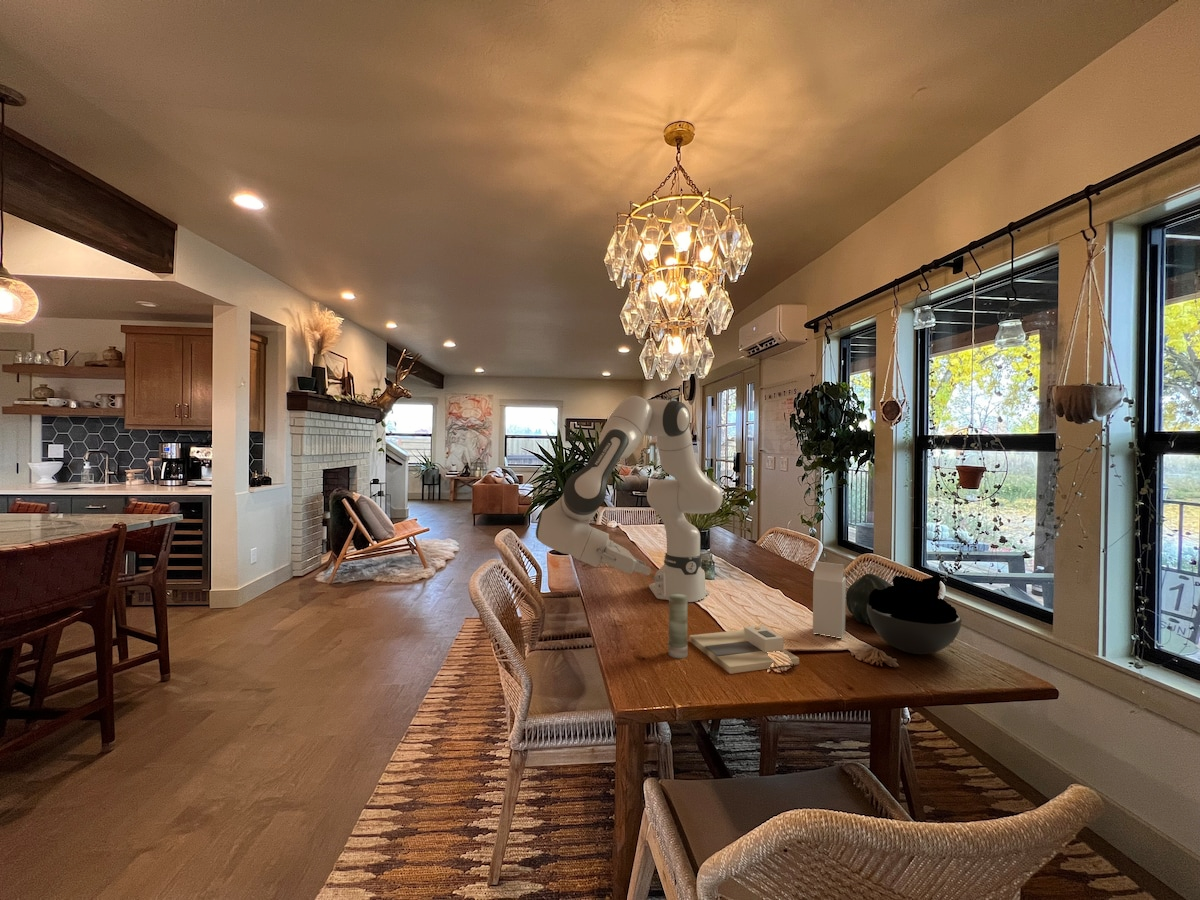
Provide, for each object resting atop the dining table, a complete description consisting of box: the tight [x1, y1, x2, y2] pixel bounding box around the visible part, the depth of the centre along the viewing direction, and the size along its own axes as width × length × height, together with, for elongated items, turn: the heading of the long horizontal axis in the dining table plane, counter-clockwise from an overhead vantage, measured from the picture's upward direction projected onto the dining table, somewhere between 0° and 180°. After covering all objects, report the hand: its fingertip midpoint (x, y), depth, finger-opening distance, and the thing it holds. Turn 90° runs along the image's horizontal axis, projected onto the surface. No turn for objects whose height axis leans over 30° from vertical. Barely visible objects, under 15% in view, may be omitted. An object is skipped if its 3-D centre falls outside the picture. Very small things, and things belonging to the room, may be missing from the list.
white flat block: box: [688, 629, 800, 675], centre depth 128 cm, size 20×18×2 cm
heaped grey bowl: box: [867, 574, 963, 655], centre depth 129 cm, size 20×20×19 cm
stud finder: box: [743, 624, 784, 652], centre depth 129 cm, size 9×5×3 cm, turn 17°
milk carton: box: [812, 561, 847, 639], centre depth 141 cm, size 7×7×19 cm
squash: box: [845, 573, 893, 626], centre depth 151 cm, size 14×15×15 cm
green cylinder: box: [667, 594, 689, 659], centre depth 126 cm, size 5×5×14 cm
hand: (647, 569), depth 131 cm, fingers open, 8 cm apart
